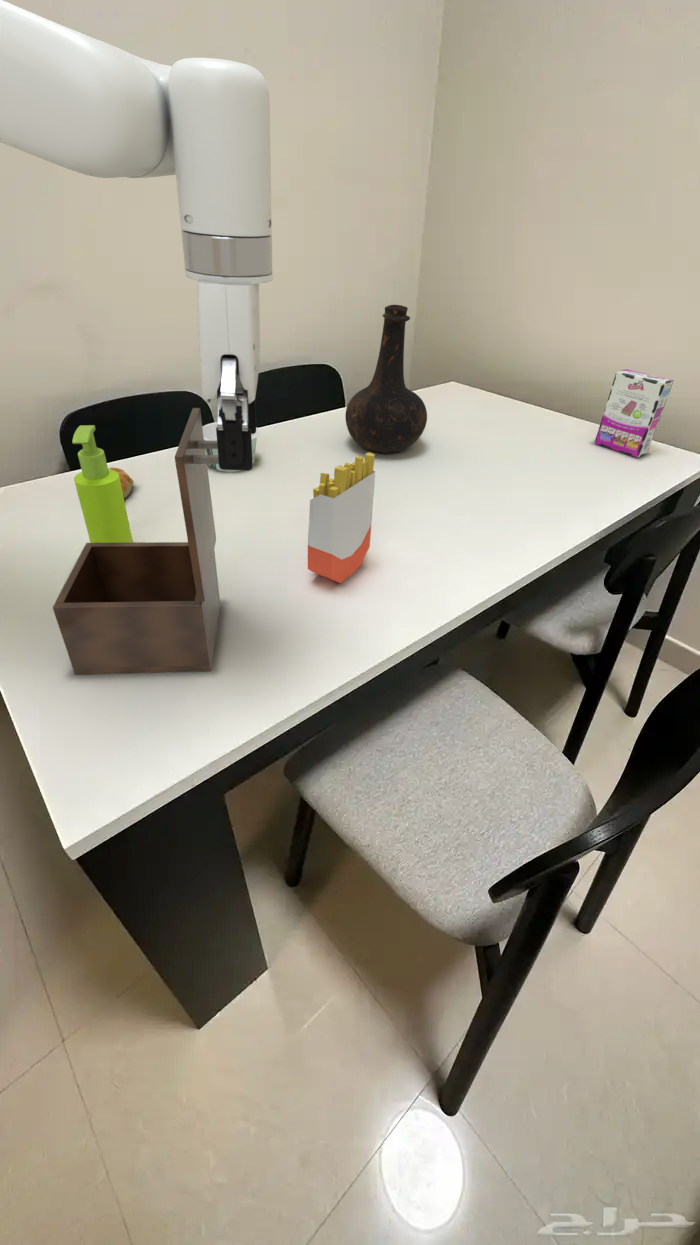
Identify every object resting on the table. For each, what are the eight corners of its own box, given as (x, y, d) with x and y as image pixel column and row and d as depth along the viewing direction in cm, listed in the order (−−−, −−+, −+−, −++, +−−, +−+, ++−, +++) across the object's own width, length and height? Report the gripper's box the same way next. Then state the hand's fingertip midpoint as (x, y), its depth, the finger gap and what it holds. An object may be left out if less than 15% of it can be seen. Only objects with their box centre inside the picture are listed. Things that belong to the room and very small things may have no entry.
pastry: (126, 508, 102) (121, 487, 99) (86, 508, 101) (80, 488, 98) (135, 485, 109) (131, 465, 107) (98, 485, 108) (93, 466, 106)
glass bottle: (354, 463, 122) (362, 315, 104) (336, 433, 135) (340, 297, 118) (434, 459, 125) (455, 315, 108) (408, 430, 139) (423, 298, 122)
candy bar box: (647, 453, 134) (675, 379, 124) (637, 458, 131) (665, 383, 121) (603, 439, 140) (626, 367, 130) (592, 443, 138) (615, 370, 127)
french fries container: (305, 581, 86) (305, 466, 75) (344, 551, 94) (349, 442, 82) (331, 592, 84) (334, 475, 73) (369, 560, 92) (377, 450, 81)
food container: (236, 479, 113) (233, 447, 109) (188, 465, 117) (184, 433, 113) (272, 460, 121) (271, 429, 117) (227, 447, 126) (224, 416, 121)
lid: (174, 456, 54) (231, 456, 54) (192, 407, 64) (240, 408, 65) (197, 602, 64) (245, 600, 64) (210, 538, 75) (250, 538, 75)
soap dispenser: (90, 571, 86) (54, 438, 73) (98, 547, 91) (66, 419, 79) (131, 569, 86) (103, 438, 74) (137, 546, 92) (111, 419, 80)
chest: (74, 674, 69) (52, 607, 62) (103, 605, 79) (86, 542, 73) (210, 671, 70) (201, 605, 64) (220, 603, 81) (213, 541, 75)
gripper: (196, 244, 57) (210, 419, 67) (168, 270, 43) (192, 484, 54) (273, 249, 57) (276, 422, 68) (270, 276, 44) (274, 486, 54)
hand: (239, 449), depth 61 cm, fingers open, 9 cm apart
